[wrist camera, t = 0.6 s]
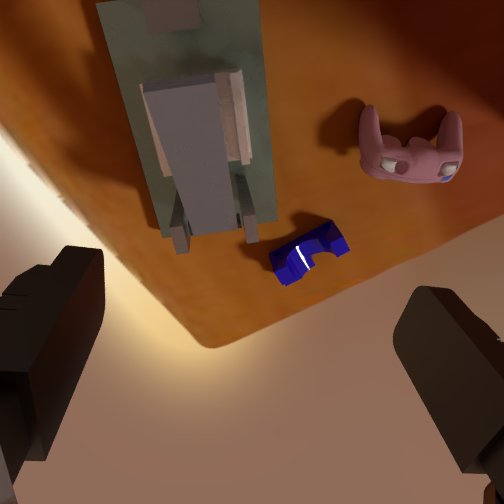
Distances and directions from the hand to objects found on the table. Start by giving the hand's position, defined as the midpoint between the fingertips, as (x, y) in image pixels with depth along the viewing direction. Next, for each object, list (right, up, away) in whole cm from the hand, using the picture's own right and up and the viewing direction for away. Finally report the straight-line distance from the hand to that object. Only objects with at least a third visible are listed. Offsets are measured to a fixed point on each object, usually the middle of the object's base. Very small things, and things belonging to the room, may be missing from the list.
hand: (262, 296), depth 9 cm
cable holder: (+6, +2, +32) cm, 33 cm away
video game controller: (+14, +13, +27) cm, 33 cm away
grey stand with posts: (-5, +13, +24) cm, 27 cm away
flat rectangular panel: (-4, +7, +15) cm, 17 cm away
